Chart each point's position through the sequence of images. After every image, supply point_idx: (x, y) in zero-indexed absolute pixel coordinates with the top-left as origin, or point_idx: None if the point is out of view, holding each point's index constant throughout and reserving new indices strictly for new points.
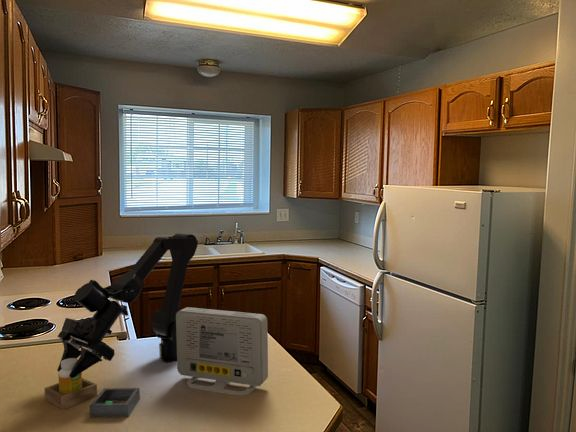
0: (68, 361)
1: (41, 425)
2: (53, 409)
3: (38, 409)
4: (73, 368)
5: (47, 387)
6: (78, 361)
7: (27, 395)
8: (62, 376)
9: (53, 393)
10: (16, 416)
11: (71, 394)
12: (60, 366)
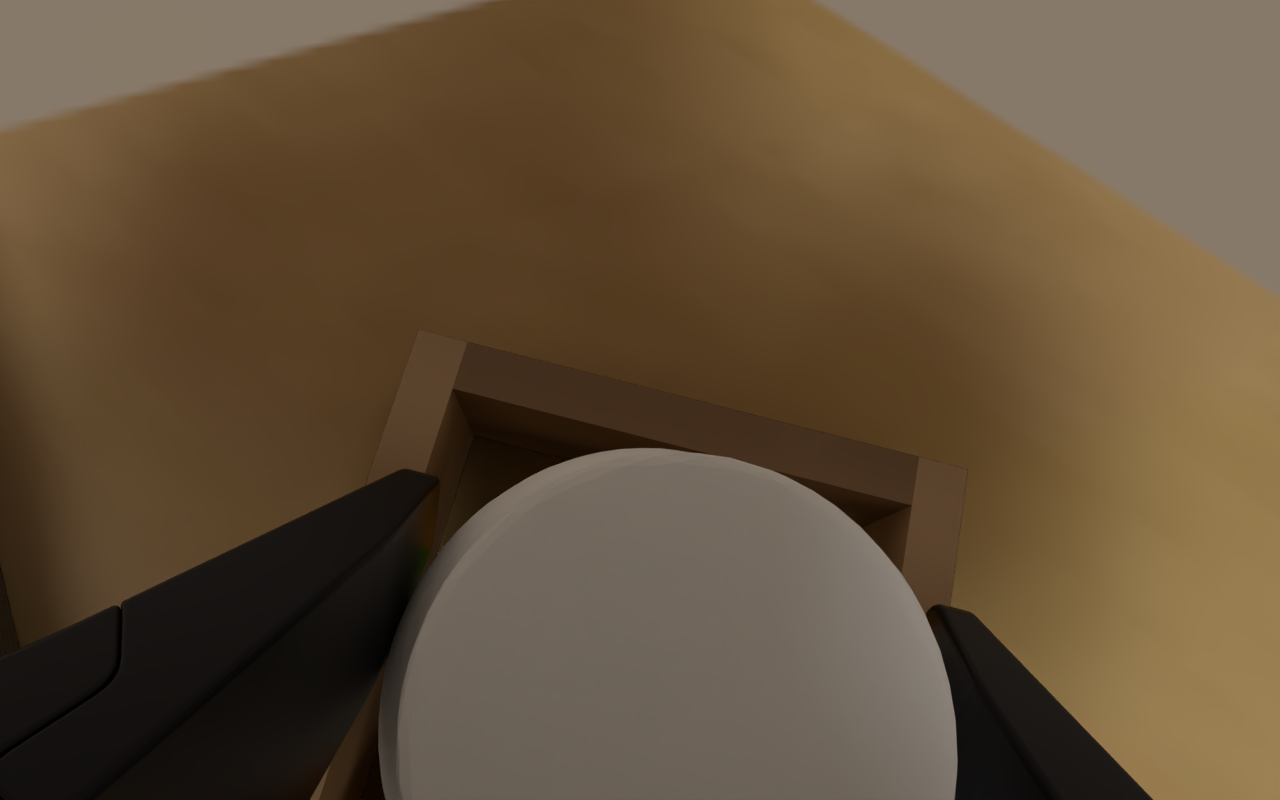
0: (674, 673)
1: (397, 59)
2: (566, 348)
3: (737, 289)
4: (340, 552)
5: (941, 501)
6: (127, 670)
7: (1208, 505)
8: (613, 450)
9: (686, 400)
10: (816, 108)
11: (374, 464)
12: (961, 665)
